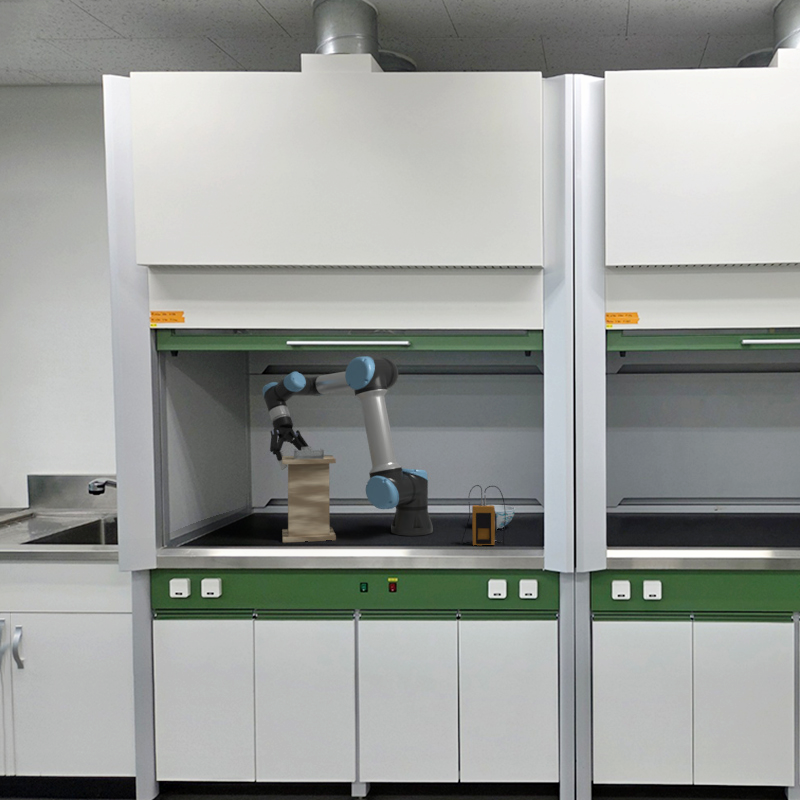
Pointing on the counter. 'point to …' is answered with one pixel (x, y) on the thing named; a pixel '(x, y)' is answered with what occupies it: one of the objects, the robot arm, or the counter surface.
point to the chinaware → (503, 514)
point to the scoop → (308, 453)
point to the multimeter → (484, 522)
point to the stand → (308, 500)
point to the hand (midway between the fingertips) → (297, 468)
